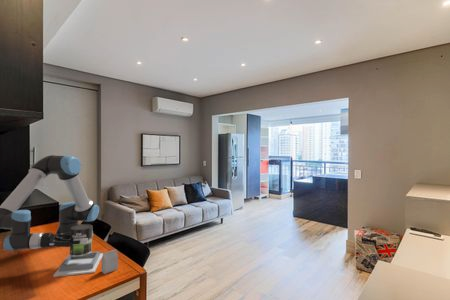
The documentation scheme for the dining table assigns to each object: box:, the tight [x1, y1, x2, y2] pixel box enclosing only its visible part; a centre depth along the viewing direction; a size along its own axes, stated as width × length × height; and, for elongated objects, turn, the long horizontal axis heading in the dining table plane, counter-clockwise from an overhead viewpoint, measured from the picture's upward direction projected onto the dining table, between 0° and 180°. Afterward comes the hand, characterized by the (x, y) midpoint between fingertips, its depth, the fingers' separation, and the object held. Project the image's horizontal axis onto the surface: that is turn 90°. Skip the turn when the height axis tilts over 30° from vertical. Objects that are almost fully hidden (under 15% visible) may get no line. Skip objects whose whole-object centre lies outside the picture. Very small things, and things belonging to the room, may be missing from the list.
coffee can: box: [69, 223, 94, 257], centre depth 129 cm, size 10×10×14 cm
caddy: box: [52, 251, 104, 278], centre depth 129 cm, size 22×18×3 cm
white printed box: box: [100, 248, 119, 275], centre depth 124 cm, size 4×7×10 cm, turn 138°
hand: (90, 237), depth 130 cm, fingers closed on coffee can, 10 cm apart
